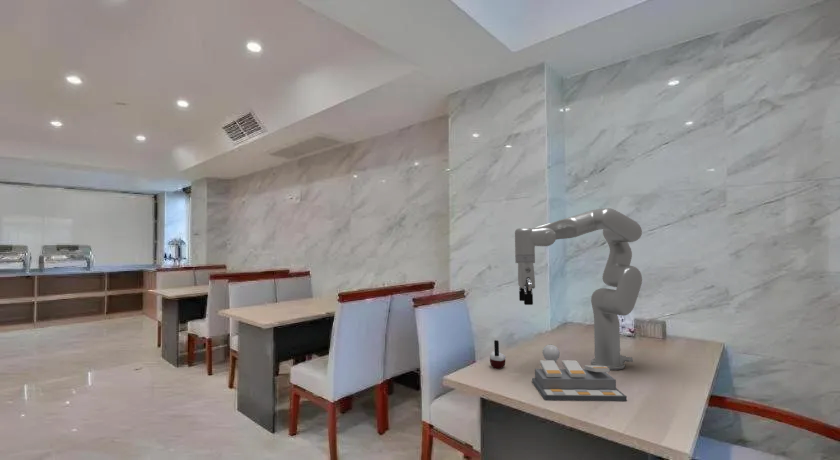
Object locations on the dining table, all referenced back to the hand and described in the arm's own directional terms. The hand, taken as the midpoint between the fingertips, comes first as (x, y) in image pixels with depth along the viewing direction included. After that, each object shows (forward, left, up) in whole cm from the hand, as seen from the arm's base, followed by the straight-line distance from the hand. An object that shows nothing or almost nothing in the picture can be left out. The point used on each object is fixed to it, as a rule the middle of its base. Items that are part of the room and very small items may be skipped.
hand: (525, 302), depth 151 cm
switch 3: (-20, +16, -21) cm, 33 cm away
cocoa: (+11, -5, -28) cm, 30 cm away
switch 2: (-12, +16, -21) cm, 29 cm away
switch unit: (-12, +19, -27) cm, 35 cm away
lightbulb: (-9, +1, -27) cm, 29 cm away
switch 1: (-4, +16, -21) cm, 27 cm away
